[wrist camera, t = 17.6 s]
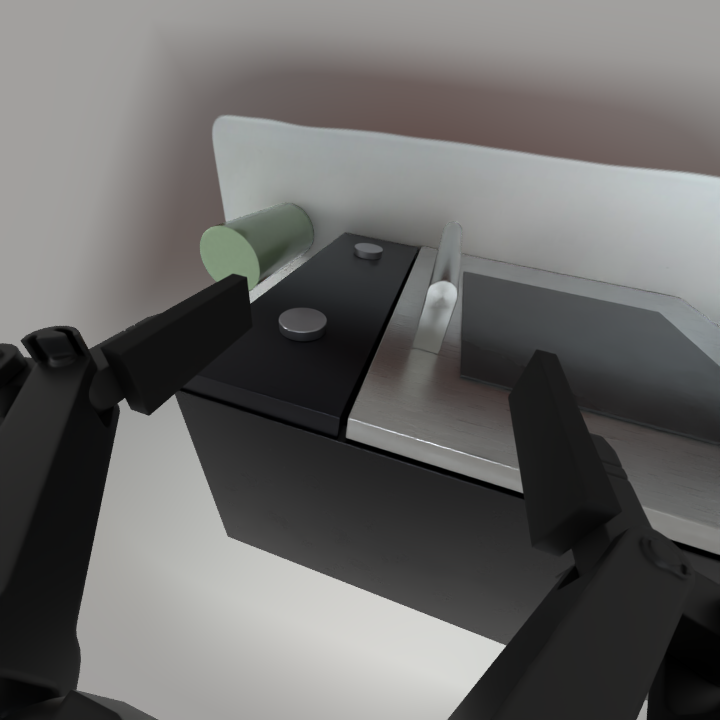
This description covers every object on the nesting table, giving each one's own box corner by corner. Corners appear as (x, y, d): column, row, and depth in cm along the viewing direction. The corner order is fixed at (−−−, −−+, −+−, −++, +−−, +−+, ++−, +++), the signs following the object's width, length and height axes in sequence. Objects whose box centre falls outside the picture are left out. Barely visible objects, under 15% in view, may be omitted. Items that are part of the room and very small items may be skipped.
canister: (265, 198, 41) (192, 220, 30) (313, 207, 40) (255, 232, 29) (270, 251, 45) (207, 286, 34) (313, 259, 44) (263, 299, 33)
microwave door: (431, 203, 35) (358, 333, 12) (717, 254, 31) (1555, 638, 7) (419, 258, 39) (344, 438, 16) (670, 310, 35) (1105, 676, 11)
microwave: (345, 225, 40) (160, 356, 16) (683, 292, 34) (1223, 674, 10) (335, 358, 54) (227, 536, 30) (574, 423, 47) (683, 715, 23)
